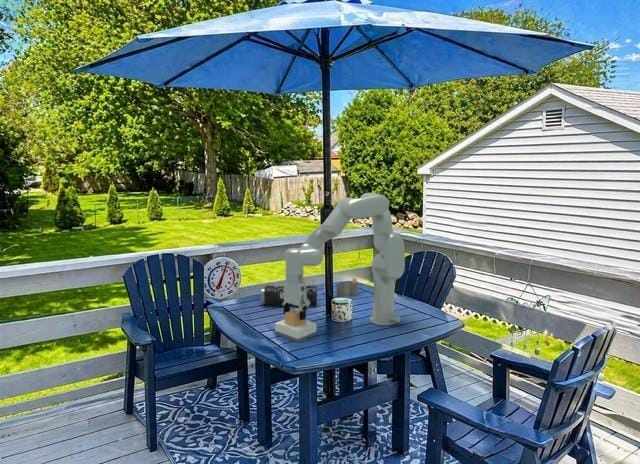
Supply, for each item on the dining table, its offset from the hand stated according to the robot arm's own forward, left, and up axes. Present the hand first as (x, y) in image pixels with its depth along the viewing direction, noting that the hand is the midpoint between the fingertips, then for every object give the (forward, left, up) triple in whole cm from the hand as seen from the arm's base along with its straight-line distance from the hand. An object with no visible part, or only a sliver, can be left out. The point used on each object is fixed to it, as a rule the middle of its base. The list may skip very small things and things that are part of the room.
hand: (294, 316), depth 198 cm
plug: (0, 0, -6) cm, 6 cm away
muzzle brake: (+31, -26, -8) cm, 41 cm away
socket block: (0, 0, -8) cm, 8 cm away
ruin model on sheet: (+19, -58, -9) cm, 62 cm away
